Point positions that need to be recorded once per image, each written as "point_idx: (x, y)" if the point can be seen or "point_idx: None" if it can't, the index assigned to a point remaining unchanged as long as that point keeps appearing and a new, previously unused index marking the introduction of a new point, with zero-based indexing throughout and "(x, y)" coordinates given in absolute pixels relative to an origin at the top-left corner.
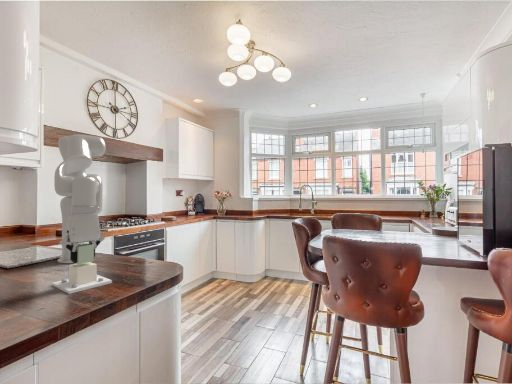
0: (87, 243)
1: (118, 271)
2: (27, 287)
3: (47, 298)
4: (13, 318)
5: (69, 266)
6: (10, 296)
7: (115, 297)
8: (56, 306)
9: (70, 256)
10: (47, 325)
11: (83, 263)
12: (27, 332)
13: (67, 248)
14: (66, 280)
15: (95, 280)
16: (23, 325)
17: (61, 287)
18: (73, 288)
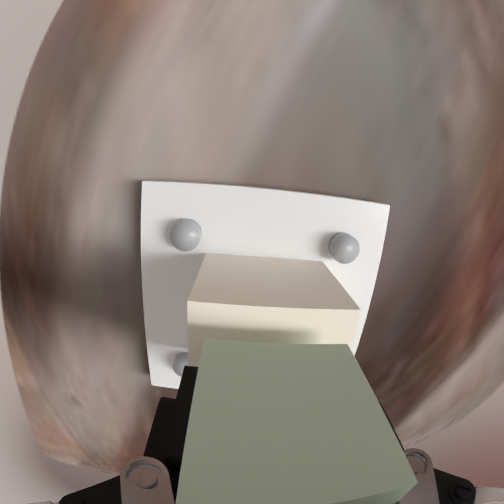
0: (406, 489)
1: (476, 232)
2: (76, 104)
3: (89, 344)
4: (29, 392)
5: (188, 304)
6: (12, 196)
7: None
8: (104, 419)
9: (154, 418)
10: (85, 461)
11: (294, 343)
12: (60, 453)
13: (96, 493)
14: (193, 248)
15: None
16: (50, 432)
17: (144, 311)
18: (175, 374)
